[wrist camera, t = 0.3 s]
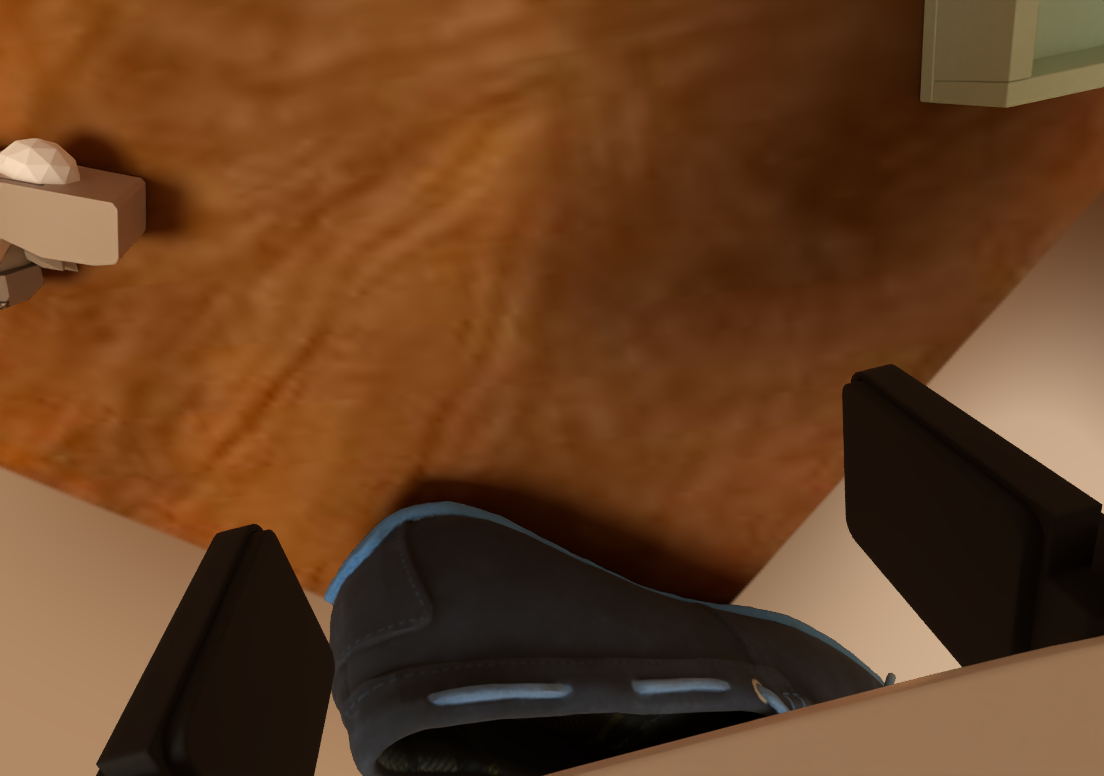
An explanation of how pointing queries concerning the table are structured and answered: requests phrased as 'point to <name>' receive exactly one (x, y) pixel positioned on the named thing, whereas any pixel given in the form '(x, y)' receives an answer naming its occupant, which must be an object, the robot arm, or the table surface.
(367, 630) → the moccasin
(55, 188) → the toy character
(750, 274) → the table surface
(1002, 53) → the rack
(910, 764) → the robot arm
